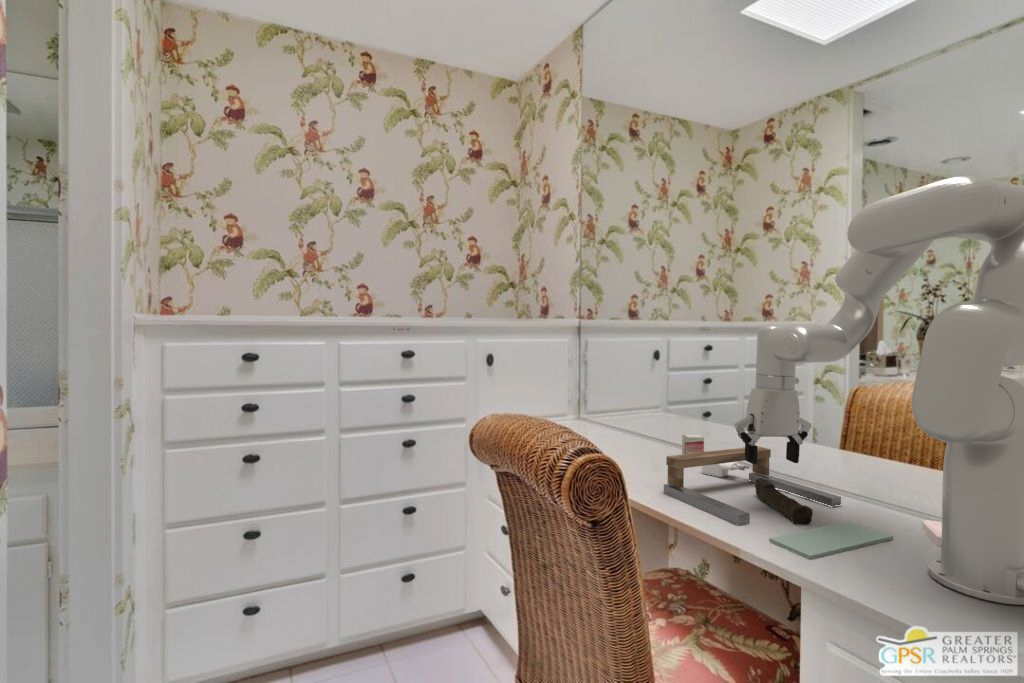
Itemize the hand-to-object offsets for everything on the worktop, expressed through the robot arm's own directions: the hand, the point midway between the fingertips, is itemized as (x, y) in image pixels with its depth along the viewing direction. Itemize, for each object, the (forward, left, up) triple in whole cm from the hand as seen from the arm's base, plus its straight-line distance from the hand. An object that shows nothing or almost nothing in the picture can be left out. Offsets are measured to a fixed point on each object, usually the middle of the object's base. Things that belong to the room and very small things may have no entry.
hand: (771, 462), depth 112 cm
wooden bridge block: (+15, 0, -8) cm, 16 cm away
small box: (+37, -12, -10) cm, 40 cm away
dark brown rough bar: (-1, 0, -10) cm, 10 cm away
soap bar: (-25, -15, -11) cm, 31 cm away
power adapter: (+22, -9, -10) cm, 26 cm away
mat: (-17, +5, -10) cm, 20 cm away
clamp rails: (+6, 0, -10) cm, 11 cm away
